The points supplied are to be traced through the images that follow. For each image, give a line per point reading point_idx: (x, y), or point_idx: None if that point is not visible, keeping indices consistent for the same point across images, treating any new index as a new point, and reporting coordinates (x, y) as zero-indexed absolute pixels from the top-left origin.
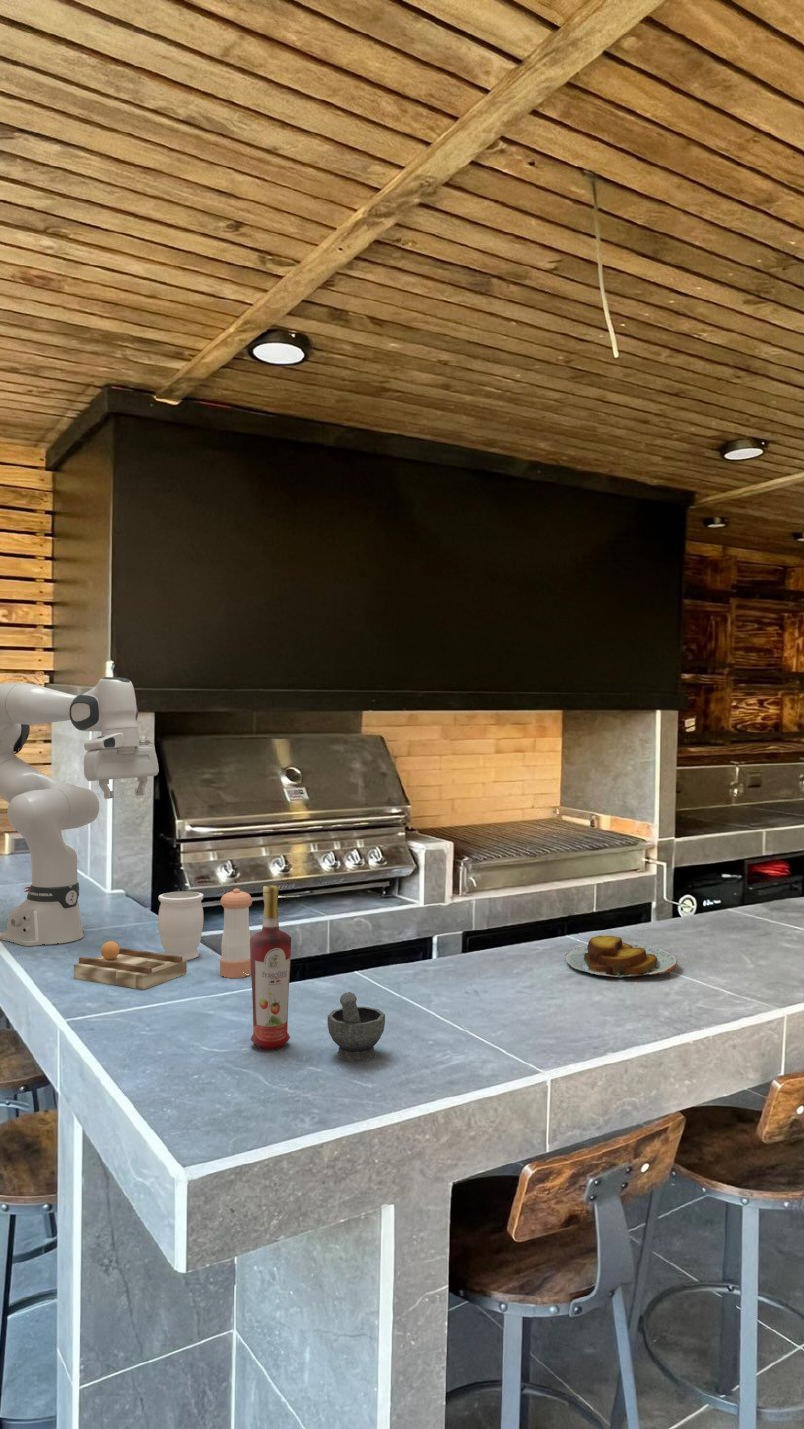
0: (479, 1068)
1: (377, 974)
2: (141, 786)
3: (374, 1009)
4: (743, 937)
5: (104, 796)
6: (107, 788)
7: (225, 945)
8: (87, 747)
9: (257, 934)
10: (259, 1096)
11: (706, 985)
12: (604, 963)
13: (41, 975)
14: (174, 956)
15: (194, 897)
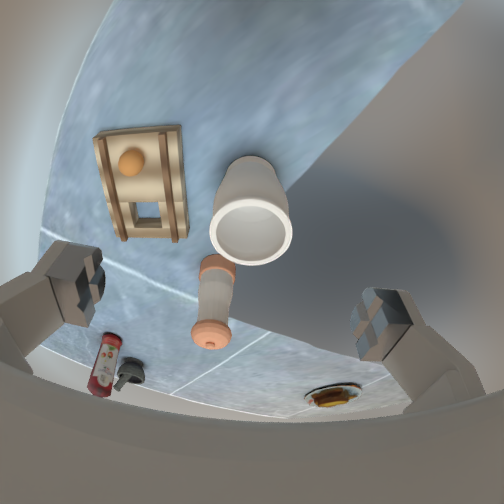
0: (157, 385)
1: (272, 339)
2: (397, 364)
3: (142, 381)
4: (397, 398)
5: (51, 250)
6: (33, 334)
7: (198, 290)
8: None
9: (90, 390)
10: (77, 346)
11: (308, 408)
12: (315, 399)
13: (85, 87)
14: (173, 235)
15: (243, 262)
